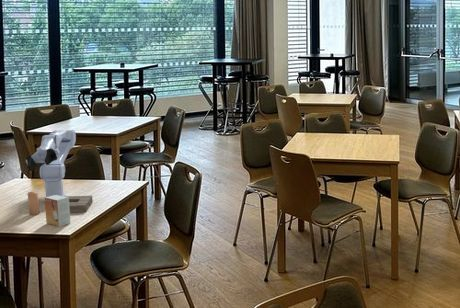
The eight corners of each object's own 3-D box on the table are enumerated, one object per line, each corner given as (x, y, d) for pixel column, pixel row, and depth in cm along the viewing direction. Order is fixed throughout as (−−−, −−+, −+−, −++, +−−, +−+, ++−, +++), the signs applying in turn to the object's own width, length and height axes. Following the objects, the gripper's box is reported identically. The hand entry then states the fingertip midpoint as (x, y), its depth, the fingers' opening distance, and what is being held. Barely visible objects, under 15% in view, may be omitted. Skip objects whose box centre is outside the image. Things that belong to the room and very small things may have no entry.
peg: (30, 212, 266) (29, 191, 264) (40, 212, 266) (38, 191, 265) (28, 215, 262) (26, 194, 260) (38, 215, 262) (36, 193, 261)
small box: (46, 223, 250) (44, 197, 248) (58, 220, 255) (56, 194, 253) (59, 227, 245) (57, 200, 243) (71, 223, 250) (69, 197, 248)
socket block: (60, 203, 280) (59, 196, 280) (92, 202, 281) (92, 195, 280) (51, 213, 264) (51, 206, 264) (86, 212, 265) (85, 205, 264)
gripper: (25, 148, 274) (17, 163, 262) (56, 137, 272) (49, 151, 260) (33, 162, 277) (25, 177, 265) (64, 151, 275) (57, 166, 263)
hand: (37, 165), depth 263 cm, fingers open, 7 cm apart
